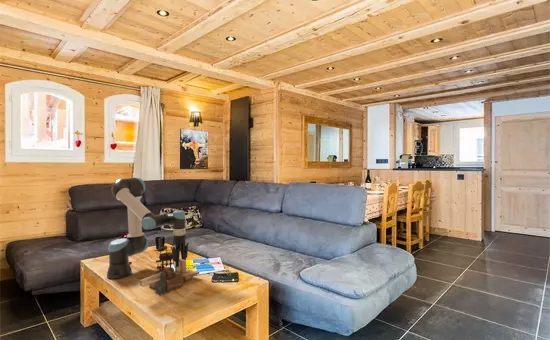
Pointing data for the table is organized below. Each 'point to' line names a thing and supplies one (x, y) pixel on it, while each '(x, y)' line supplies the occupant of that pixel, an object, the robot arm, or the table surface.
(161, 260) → the music box
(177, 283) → the toolbox
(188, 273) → the lid
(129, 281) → the table surface
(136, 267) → the table surface
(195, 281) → the table surface
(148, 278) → the wooden stick
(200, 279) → the table surface
